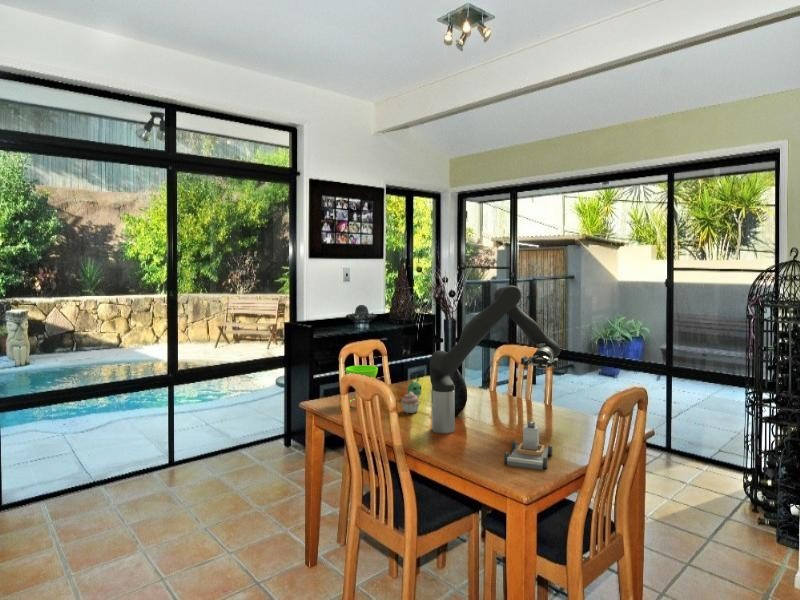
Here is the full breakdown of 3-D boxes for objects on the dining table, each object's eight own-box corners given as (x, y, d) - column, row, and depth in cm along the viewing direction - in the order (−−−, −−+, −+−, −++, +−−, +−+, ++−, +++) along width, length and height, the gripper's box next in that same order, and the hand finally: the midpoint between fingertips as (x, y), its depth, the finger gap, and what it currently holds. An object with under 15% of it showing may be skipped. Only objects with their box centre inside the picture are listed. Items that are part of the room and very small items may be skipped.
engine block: (537, 453, 198) (537, 424, 198) (522, 451, 200) (523, 423, 199) (538, 449, 203) (539, 421, 202) (525, 447, 205) (525, 419, 204)
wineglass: (374, 409, 265) (374, 372, 264) (342, 407, 268) (341, 371, 266) (381, 400, 281) (380, 365, 280) (350, 399, 283) (350, 364, 282)
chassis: (546, 470, 186) (546, 459, 186) (503, 464, 192) (503, 454, 192) (552, 453, 203) (552, 443, 203) (513, 448, 208) (513, 438, 208)
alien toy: (414, 400, 280) (414, 381, 280) (405, 397, 286) (404, 378, 286) (424, 398, 284) (424, 379, 284) (415, 395, 291) (415, 377, 290)
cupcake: (405, 408, 266) (405, 388, 265) (423, 410, 261) (423, 390, 261) (397, 413, 257) (396, 392, 257) (415, 415, 253) (415, 394, 252)
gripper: (525, 347, 234) (518, 353, 219) (560, 349, 229) (555, 356, 214) (525, 365, 235) (518, 372, 220) (560, 367, 229) (555, 375, 214)
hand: (537, 364), depth 217 cm, fingers open, 8 cm apart
